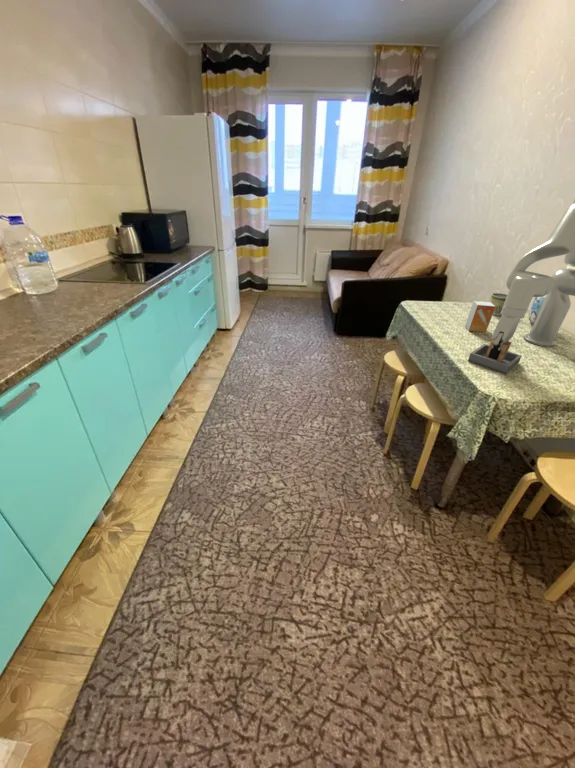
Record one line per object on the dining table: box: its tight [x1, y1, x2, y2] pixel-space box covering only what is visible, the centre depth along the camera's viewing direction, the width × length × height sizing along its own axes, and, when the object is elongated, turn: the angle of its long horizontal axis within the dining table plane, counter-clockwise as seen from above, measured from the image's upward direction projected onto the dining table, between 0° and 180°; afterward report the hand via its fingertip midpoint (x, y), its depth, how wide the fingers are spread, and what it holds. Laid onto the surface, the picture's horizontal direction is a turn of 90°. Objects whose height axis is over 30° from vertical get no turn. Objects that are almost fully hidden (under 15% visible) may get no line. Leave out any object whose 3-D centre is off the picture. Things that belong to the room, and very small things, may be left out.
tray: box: [467, 343, 522, 376], centre depth 129 cm, size 14×14×4 cm
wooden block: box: [485, 339, 513, 362], centre depth 127 cm, size 6×6×7 cm
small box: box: [464, 300, 496, 333], centre depth 156 cm, size 8×6×13 cm
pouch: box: [528, 295, 546, 326], centre depth 159 cm, size 8×19×20 cm, turn 154°
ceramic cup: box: [490, 292, 508, 317], centre depth 178 cm, size 13×10×10 cm
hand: (495, 355), depth 128 cm, fingers closed on wooden block, 5 cm apart
